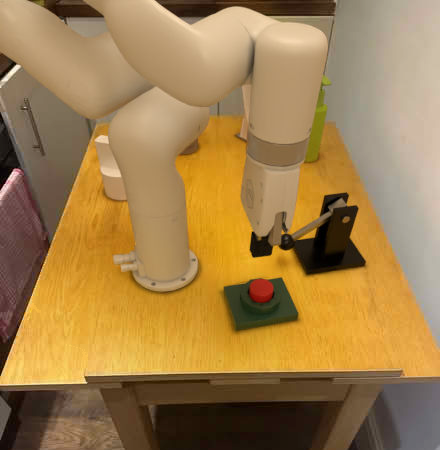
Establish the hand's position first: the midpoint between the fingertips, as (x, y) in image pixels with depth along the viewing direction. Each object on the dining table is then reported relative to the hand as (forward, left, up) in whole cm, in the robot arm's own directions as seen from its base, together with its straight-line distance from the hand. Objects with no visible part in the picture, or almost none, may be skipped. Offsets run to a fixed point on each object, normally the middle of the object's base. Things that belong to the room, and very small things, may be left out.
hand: (260, 253), depth 64 cm
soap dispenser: (+28, +46, -12) cm, 55 cm away
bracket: (+18, +9, -12) cm, 23 cm away
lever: (+14, +9, -5) cm, 17 cm away
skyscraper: (+17, +59, -12) cm, 63 cm away
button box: (+1, -1, -12) cm, 12 cm away
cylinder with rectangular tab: (-20, +41, -12) cm, 48 cm away
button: (+1, -1, -9) cm, 9 cm away
